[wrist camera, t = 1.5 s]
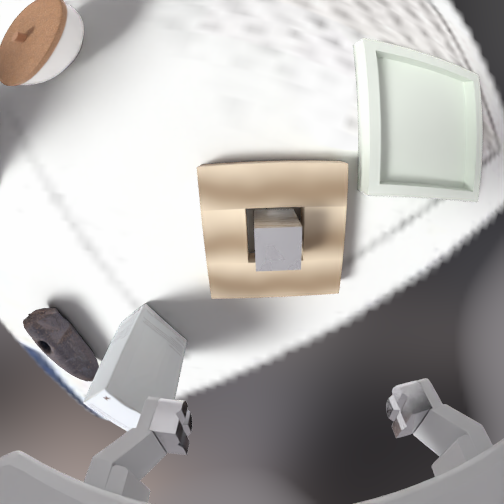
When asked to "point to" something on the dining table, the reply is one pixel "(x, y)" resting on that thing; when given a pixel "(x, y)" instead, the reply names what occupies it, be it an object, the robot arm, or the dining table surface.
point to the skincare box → (137, 368)
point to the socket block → (273, 196)
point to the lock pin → (277, 240)
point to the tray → (416, 124)
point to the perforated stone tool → (61, 343)
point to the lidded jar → (40, 43)
